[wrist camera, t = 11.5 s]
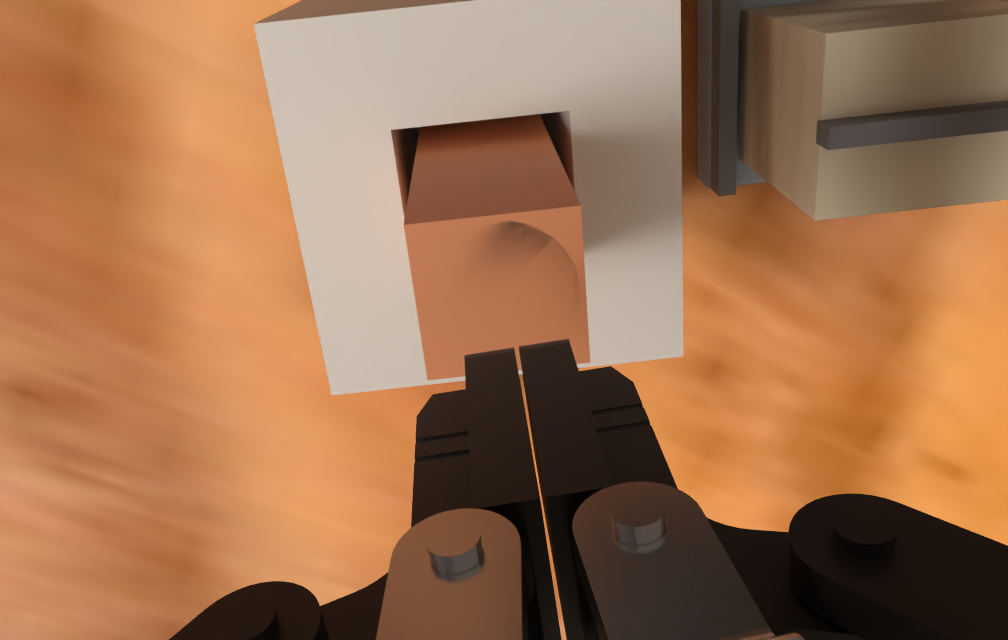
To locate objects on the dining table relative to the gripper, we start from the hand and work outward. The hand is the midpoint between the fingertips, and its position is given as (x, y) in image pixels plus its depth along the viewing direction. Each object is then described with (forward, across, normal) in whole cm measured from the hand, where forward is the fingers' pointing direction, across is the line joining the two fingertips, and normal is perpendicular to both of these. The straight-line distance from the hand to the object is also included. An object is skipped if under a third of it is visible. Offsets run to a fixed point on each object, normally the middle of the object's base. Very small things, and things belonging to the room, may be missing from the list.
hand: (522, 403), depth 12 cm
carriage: (+18, -12, 0) cm, 22 cm away
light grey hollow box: (+20, 0, 0) cm, 20 cm away
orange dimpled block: (+12, 0, 0) cm, 12 cm away
